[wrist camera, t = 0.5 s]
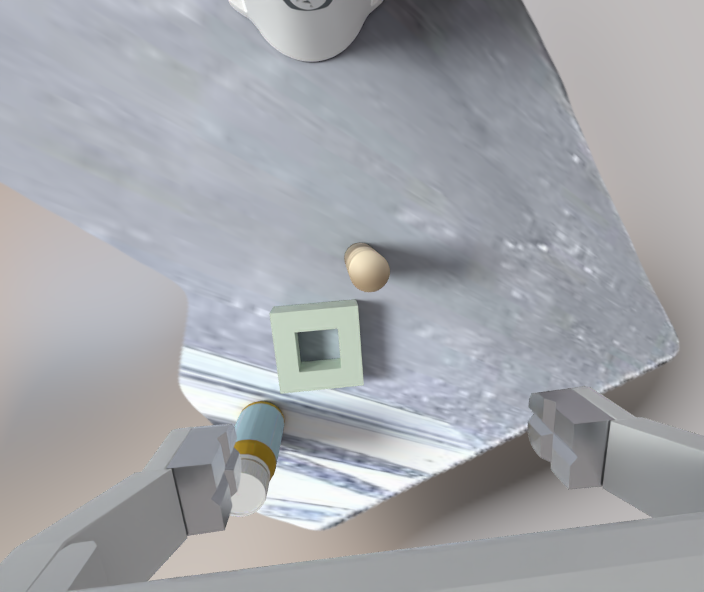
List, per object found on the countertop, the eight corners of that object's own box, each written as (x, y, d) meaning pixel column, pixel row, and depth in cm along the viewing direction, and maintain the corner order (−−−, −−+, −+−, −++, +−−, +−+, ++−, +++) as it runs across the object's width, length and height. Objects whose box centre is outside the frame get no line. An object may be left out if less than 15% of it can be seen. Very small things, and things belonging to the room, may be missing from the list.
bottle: (230, 418, 54) (194, 495, 39) (262, 390, 53) (238, 458, 39) (262, 446, 55) (239, 530, 41) (294, 419, 55) (282, 495, 40)
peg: (343, 243, 49) (348, 253, 37) (374, 241, 49) (388, 250, 37) (345, 274, 50) (351, 293, 38) (376, 272, 50) (390, 290, 38)
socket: (273, 306, 50) (269, 313, 47) (355, 299, 51) (357, 305, 47) (283, 382, 53) (280, 393, 50) (361, 374, 54) (363, 385, 50)
